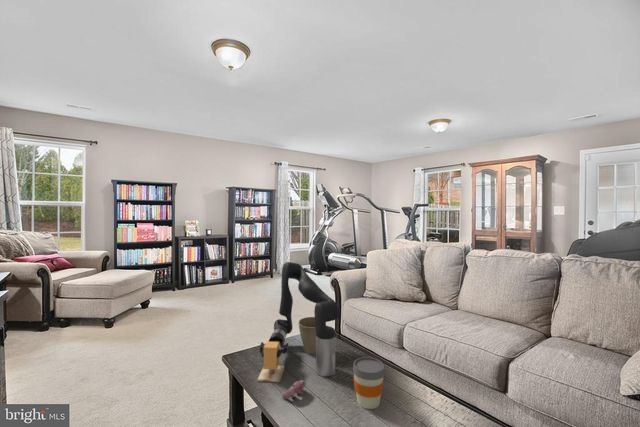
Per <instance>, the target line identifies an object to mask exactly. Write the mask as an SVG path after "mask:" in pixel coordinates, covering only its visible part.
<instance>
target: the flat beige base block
mask: <svg viewBox="0 0 640 427" xmlns="http://www.w3.org/2000/svg"><path fill="white" fill-rule="evenodd" d="M284 370H285V365H278V367H277V369H263V368H262V369H261V371H260V373H259V375H258V378H257V382H262V383H263V382H264V383H265V382H266V383H281V379H282V377H283V373H284Z"/></svg>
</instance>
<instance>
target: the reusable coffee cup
mask: <svg viewBox="0 0 640 427" xmlns="http://www.w3.org/2000/svg"><path fill="white" fill-rule="evenodd" d="M352 365H353V367H352V372H353V386H354V390H355V393H356V401H357V404H358V405H359V406H360V407H361V408H364V409H366V410H367V409H368V410H373V409H374V410H375V409H377V408H378V407H379V406H380V404H381V398H382V397H381V395H382V393H383V390H384V383H385V379H384V376H385V373H386V372H385V365H384V363H383V362H382V361H381V360H380V359H378V358H375V357H370V356H368V357H367V356H364V357H358V358H356V359H355V360H354V361H353V364H352Z"/></svg>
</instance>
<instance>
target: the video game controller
mask: <svg viewBox="0 0 640 427" xmlns="http://www.w3.org/2000/svg"><path fill="white" fill-rule="evenodd" d="M306 385H307V382H305V381H304V380H302V379H300V380H297V381H295V382H294V383H293V384H292V385H291V386H290V387H289V388H288V389H287V390H286V391H284V392H283V393H282V395H281V397H282V399H283V400H288V399H290V398H291V399H293V398H295V397H296V395H299V394H300V393H301V391H302V390H304V388H305V387H306Z"/></svg>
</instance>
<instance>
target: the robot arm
mask: <svg viewBox="0 0 640 427" xmlns="http://www.w3.org/2000/svg"><path fill="white" fill-rule="evenodd" d="M290 279H293V280H296V281H298V292H300V294H301V295H302V296H303V298H304V299H305V300H307V301H309V302H312V303H314V304H315V306H314V311H313V312H314V317H315V330H316V354H315V373H316V375H318V376H320V377H331V376H335V375H336V329H335V328H334V327H332V326H329V325H327V322H328V323H329V322H333V321H336V320H338V319H339V318H340V316H341V310H340V308H339V307H340V306H339V305H338V303H337V301H335V300H334V299H333V298H332V297H331V296H329V295H328V294H327V293H325V292H324V291H323V290H322V288H320V287H319V285H317V283H316V282H315V280H313V279H312V277H310V276H309V275H308V273H307V272H306V271H305V269H304V268H303V266H302V265H301V264H299V263H296V262H289V261H286V262H284V263H283V264H282V268H281V283H280V284H281V294H280V296H281V297H280V304H279V310H278V314H279V315H280V316H283V317H285V318H286V319H280V318H279V319H276V320H275V321H274V323H273V332H272V333H271V336H270V337H269V339H268V341H269V342H279V350H278V352H277V358H278V357H279V358H280V357H281V356H282V355H285V354H286V353H287V352H288V350H289V342H288V343H287V342H286V337H287V335H288V334H291V333H292V331H293V321H292V310H293V303H294V302H293V301H294V300H293V295H292V293H291V290H290V285H289V280H290ZM285 342H286V343H285ZM265 344H266V343H264V342H263V341H262V342H260V346H259V353H260V354H261V357H262V358H264V346H265Z"/></svg>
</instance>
